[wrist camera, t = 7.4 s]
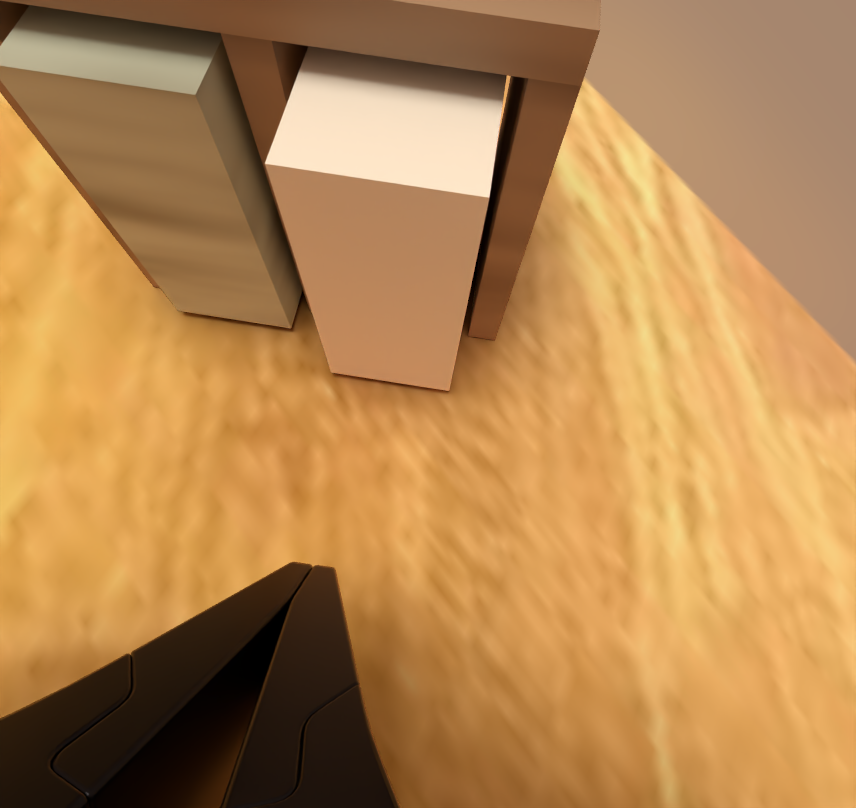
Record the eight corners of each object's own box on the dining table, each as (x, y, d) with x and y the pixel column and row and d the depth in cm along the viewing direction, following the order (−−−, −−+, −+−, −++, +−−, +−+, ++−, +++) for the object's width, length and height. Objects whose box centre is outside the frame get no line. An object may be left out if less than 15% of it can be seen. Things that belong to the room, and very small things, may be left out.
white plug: (449, 391, 18) (489, 197, 9) (330, 372, 18) (264, 163, 9) (486, 143, 22) (536, -139, 14) (392, 128, 22) (384, -160, 14)
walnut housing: (492, 364, 18) (598, 69, 8) (144, 309, 19) (-167, -43, 9) (513, 179, 22) (608, -191, 12) (218, 134, 22) (59, -267, 12)
